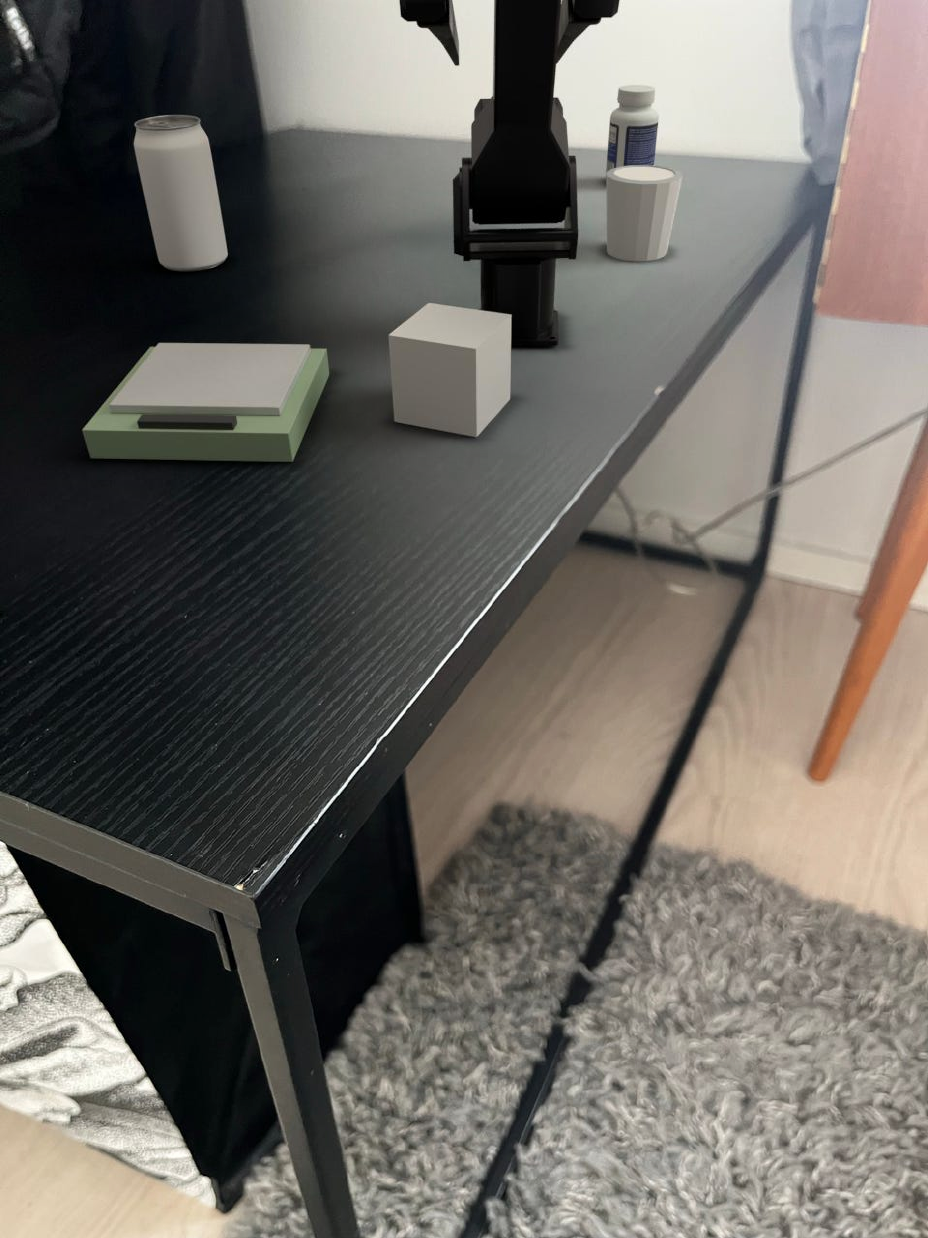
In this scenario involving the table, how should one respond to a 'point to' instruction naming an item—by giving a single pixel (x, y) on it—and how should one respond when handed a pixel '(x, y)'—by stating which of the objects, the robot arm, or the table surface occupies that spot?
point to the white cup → (641, 210)
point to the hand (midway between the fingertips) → (505, 60)
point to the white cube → (451, 368)
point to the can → (180, 192)
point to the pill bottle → (633, 128)
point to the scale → (211, 403)
